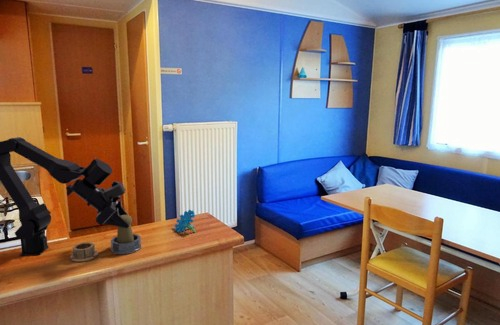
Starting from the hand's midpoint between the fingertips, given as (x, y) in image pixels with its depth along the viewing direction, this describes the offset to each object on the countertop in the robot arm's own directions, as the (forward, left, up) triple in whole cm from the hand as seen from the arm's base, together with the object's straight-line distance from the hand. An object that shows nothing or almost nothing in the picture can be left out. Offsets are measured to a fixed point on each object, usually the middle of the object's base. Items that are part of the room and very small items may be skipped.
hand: (129, 223), depth 118 cm
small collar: (-13, -5, -9) cm, 17 cm away
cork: (-1, 0, -8) cm, 9 cm away
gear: (+18, +15, -9) cm, 25 cm away
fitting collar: (-1, 0, -9) cm, 9 cm away
